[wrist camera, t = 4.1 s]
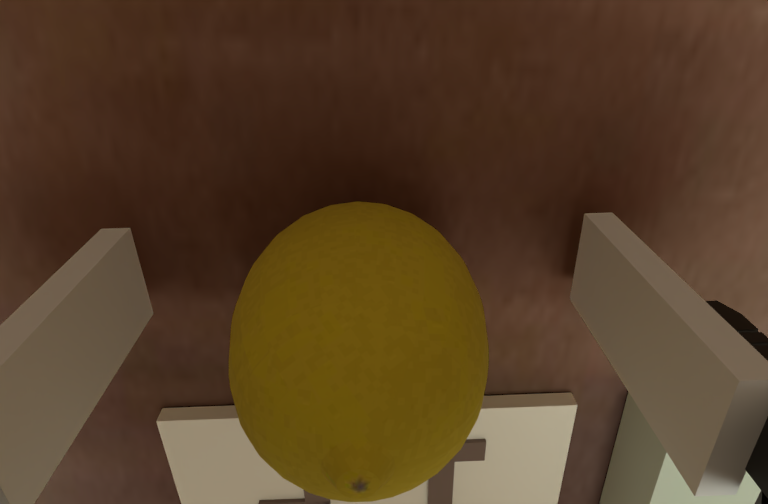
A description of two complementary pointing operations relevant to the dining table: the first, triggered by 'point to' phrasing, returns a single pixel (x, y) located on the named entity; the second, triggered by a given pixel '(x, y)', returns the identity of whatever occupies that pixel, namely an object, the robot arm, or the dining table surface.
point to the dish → (654, 470)
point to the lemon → (358, 352)
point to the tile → (429, 500)
